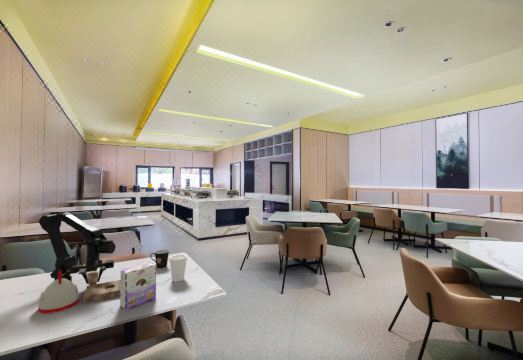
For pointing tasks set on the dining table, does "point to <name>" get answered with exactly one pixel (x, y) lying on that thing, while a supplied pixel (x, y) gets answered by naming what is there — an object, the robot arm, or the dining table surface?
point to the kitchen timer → (58, 296)
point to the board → (102, 291)
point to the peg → (92, 277)
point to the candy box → (137, 285)
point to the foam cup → (178, 267)
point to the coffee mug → (161, 258)
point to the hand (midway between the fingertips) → (92, 282)
